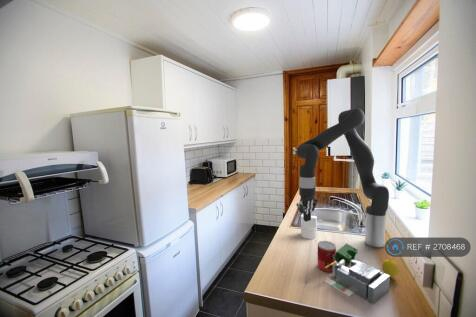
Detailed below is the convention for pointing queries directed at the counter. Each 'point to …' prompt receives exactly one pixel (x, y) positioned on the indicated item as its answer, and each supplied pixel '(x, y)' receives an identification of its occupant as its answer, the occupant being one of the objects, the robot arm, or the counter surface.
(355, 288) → the box
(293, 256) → the counter surface
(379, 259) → the counter surface
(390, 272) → the lemon
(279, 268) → the counter surface
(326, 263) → the canned food
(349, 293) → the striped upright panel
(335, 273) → the plunger
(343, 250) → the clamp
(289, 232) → the counter surface
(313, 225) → the white container
